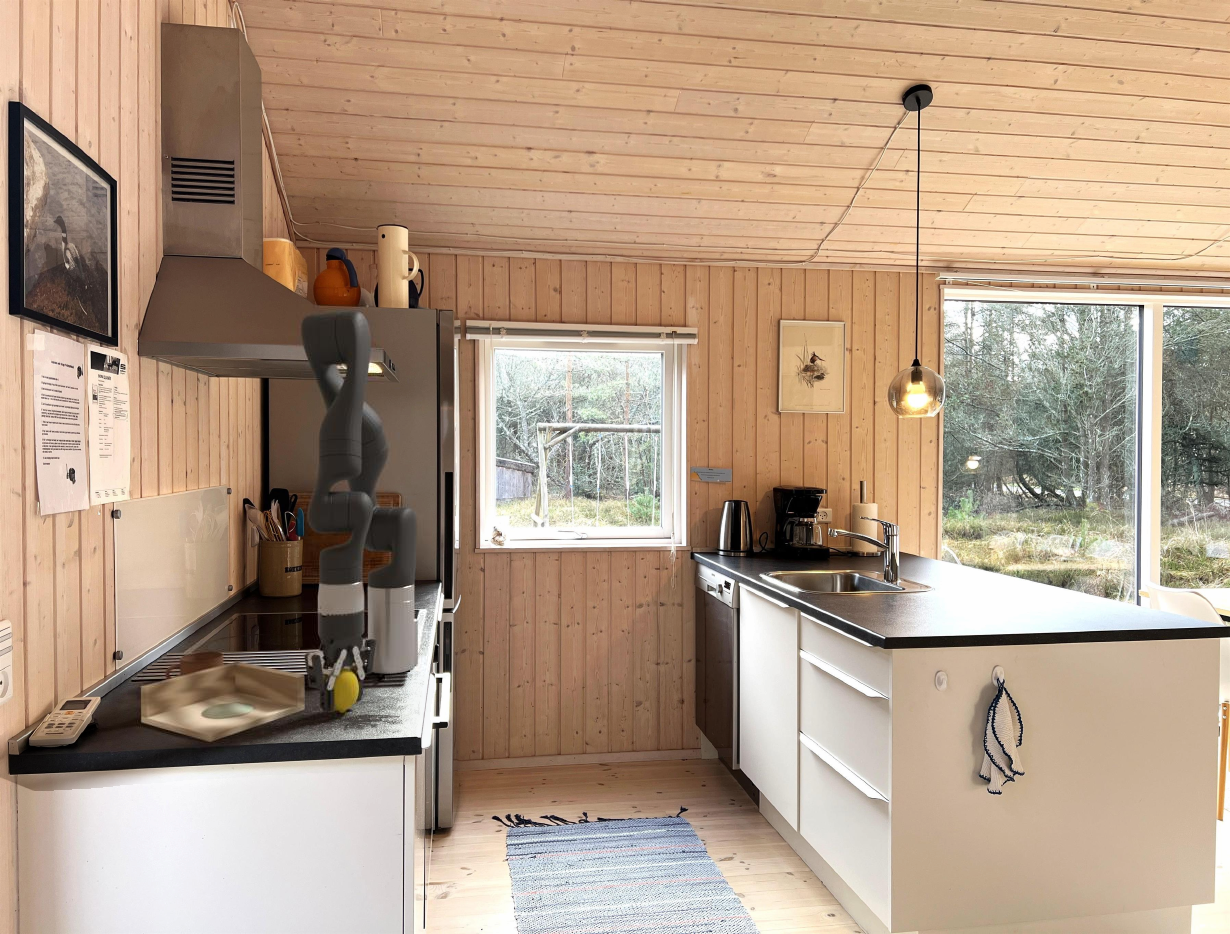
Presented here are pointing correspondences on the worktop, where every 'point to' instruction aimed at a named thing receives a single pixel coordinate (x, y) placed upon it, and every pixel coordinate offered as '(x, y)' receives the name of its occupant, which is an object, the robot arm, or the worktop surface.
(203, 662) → the cup and saucer
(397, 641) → the robot arm
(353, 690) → the lemon
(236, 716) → the tray
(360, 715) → the worktop surface
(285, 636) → the worktop surface
